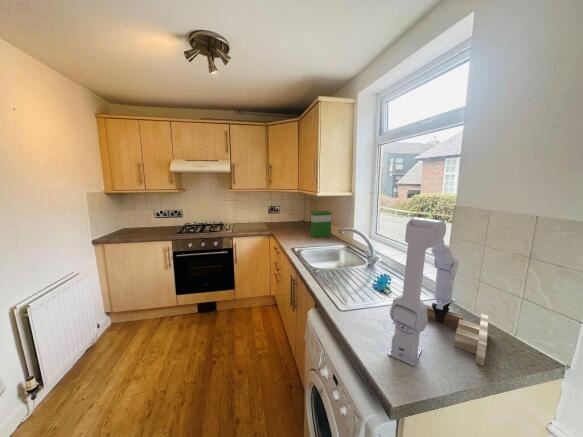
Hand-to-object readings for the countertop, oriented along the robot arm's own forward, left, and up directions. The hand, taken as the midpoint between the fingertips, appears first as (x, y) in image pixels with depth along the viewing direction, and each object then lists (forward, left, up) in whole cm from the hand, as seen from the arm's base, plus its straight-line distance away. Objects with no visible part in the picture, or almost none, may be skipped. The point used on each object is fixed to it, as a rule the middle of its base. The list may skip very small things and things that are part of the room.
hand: (440, 318), depth 96 cm
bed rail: (0, 0, -2) cm, 2 cm away
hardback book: (+91, +114, -2) cm, 146 cm away
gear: (+14, +28, -2) cm, 31 cm away
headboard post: (-8, -10, -1) cm, 13 cm away
